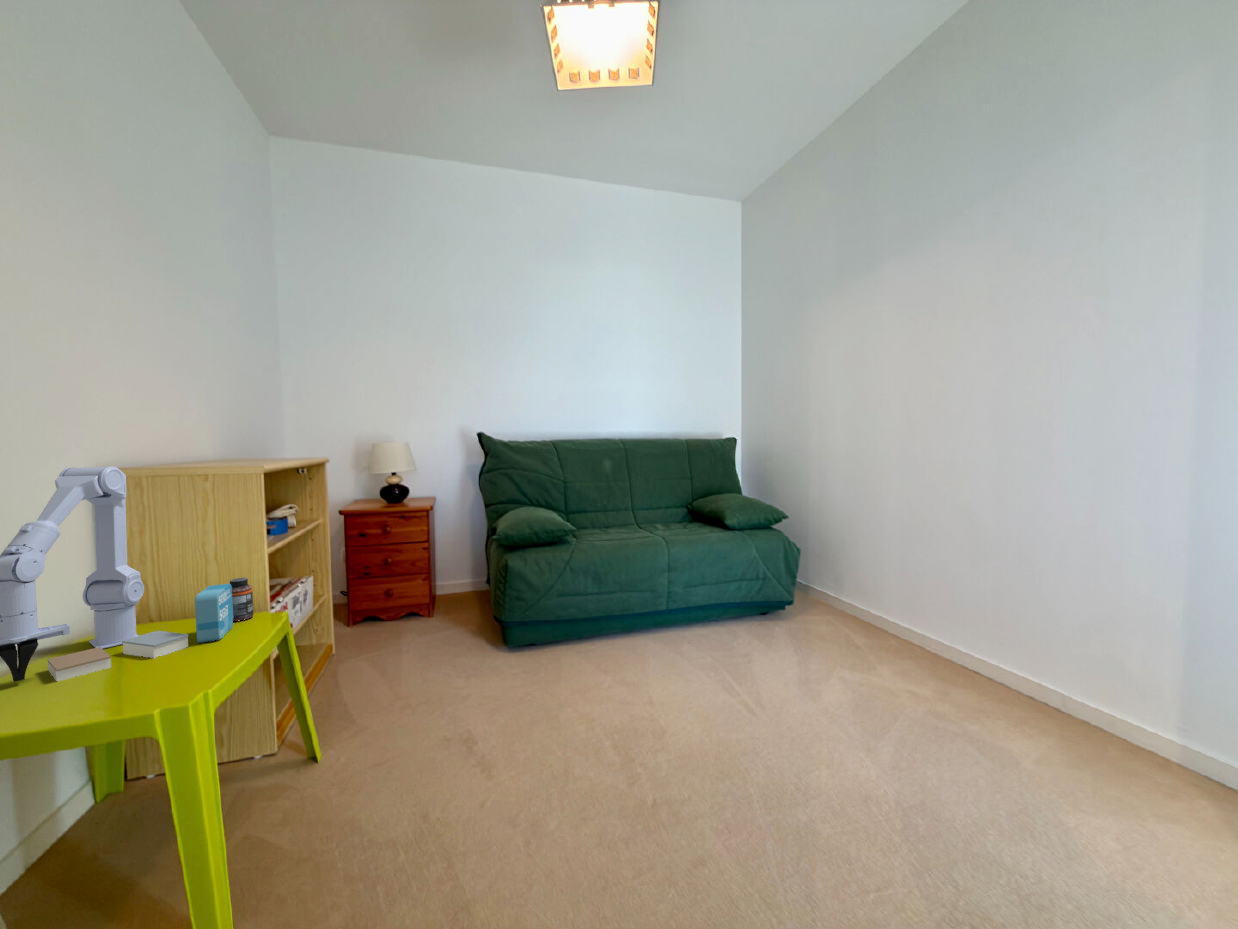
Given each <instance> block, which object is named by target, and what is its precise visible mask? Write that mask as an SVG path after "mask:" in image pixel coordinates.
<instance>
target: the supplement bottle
mask: <svg viewBox="0 0 1238 929" xmlns="http://www.w3.org/2000/svg"><path fill="white" fill-rule="evenodd" d="M229 584H231V586H232V607H233V621H238V620H244V619H248V620H250V619H251V617H252V618H254V599H253V598H254V597H253V594H254V593H253V587H252V585H250V584H249V582H248V578H247V577H237V578H233V579H230V580H229ZM249 618H250V619H249Z"/></svg>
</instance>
